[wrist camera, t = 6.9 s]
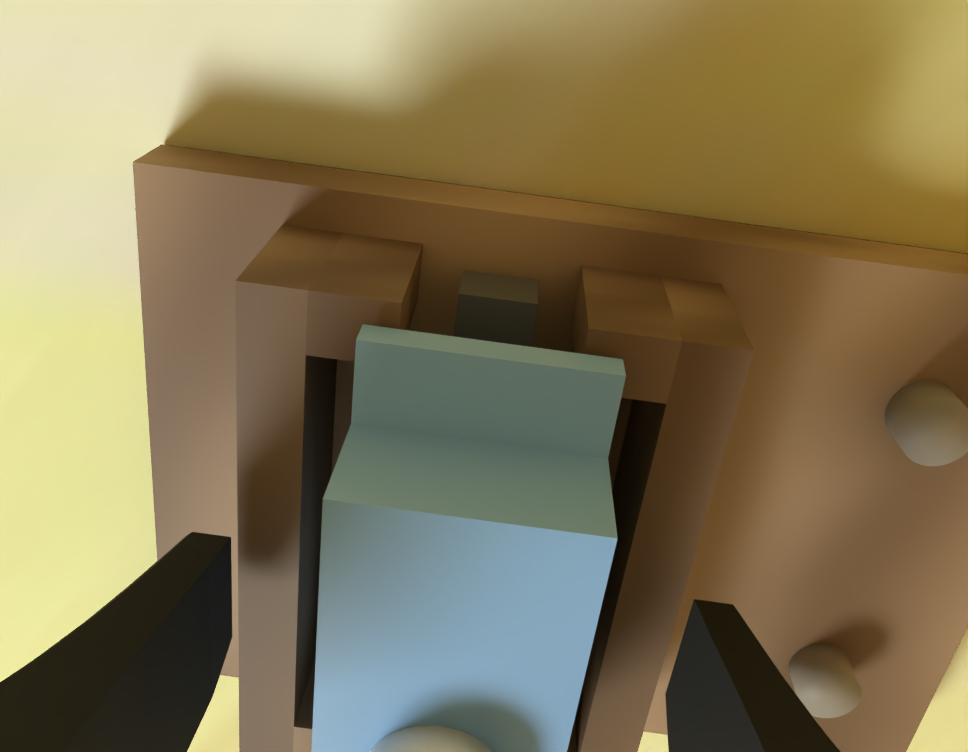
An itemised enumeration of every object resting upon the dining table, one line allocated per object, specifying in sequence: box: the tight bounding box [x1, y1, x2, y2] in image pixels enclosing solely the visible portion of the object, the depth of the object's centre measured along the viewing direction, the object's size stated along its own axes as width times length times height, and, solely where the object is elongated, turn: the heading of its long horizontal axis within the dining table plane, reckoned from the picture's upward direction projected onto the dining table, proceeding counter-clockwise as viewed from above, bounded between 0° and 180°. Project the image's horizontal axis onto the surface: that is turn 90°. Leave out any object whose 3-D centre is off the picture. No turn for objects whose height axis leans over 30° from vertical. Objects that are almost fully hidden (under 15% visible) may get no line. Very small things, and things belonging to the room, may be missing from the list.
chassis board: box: [133, 145, 968, 752], centre depth 16 cm, size 16×11×4 cm
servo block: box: [311, 270, 626, 752], centre depth 14 cm, size 9×4×6 cm, turn 174°
